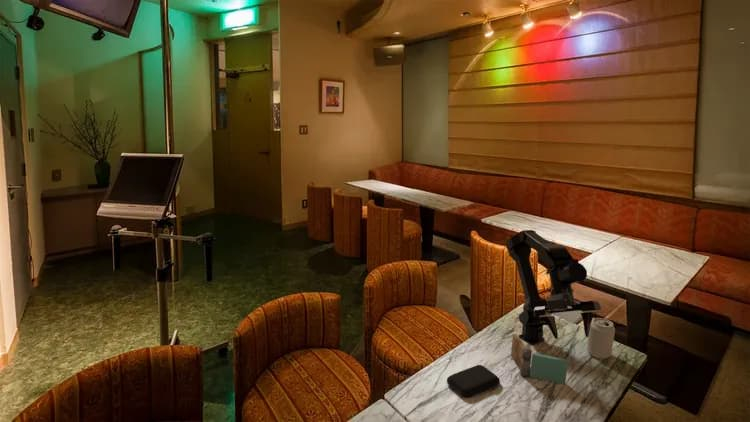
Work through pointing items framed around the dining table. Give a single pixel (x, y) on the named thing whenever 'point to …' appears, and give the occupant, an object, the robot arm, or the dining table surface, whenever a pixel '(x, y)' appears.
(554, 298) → the robot arm
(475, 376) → the carrying case or bag
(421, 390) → the dining table surface
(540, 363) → the hinge leaf
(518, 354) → the fixed leaf
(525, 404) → the dining table surface
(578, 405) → the dining table surface
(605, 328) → the can
